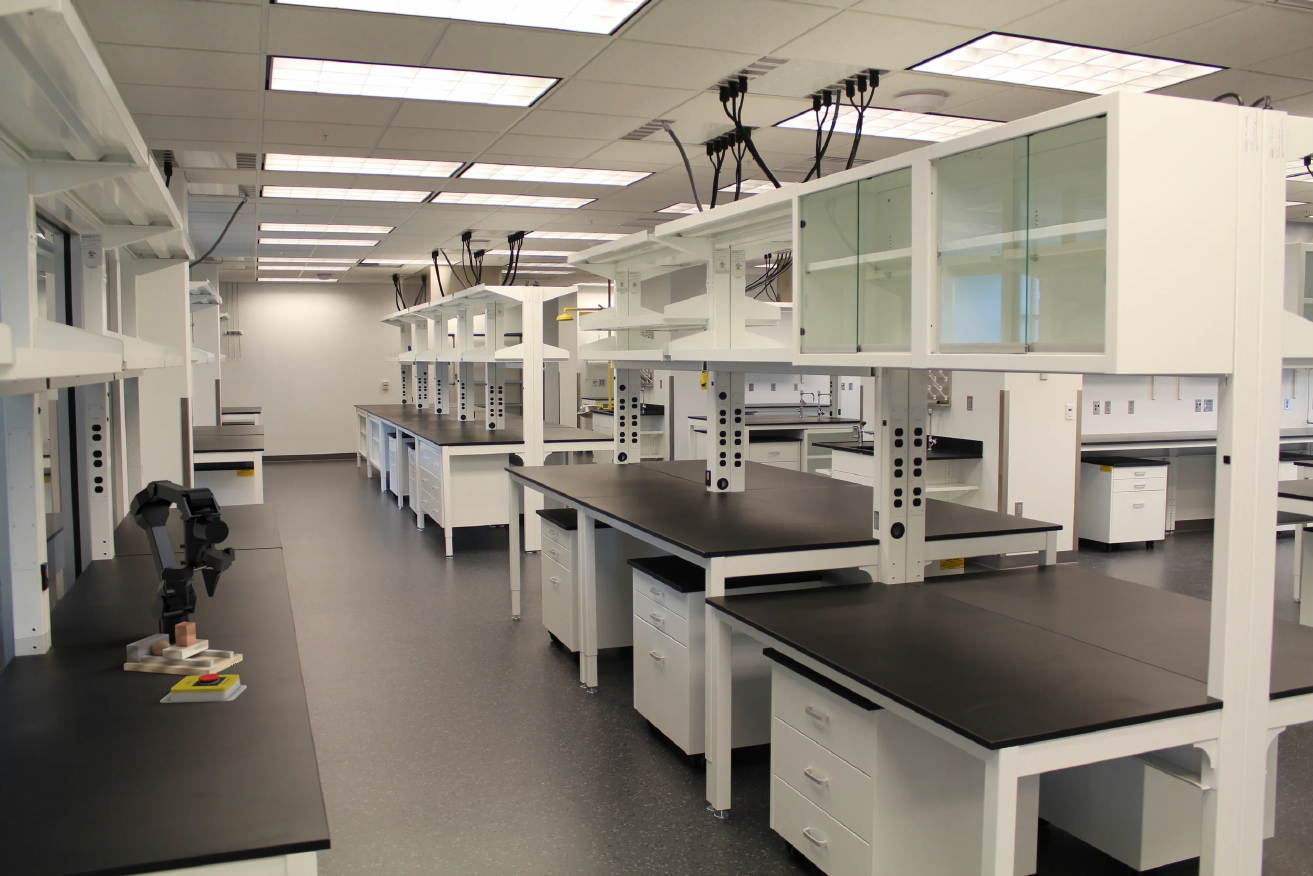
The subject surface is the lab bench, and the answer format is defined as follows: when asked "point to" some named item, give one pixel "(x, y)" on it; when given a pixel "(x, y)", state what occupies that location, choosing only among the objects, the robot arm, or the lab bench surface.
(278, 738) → the lab bench surface
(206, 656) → the press bed
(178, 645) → the slider
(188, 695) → the emergency button
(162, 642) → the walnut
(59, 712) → the lab bench surface
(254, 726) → the lab bench surface
